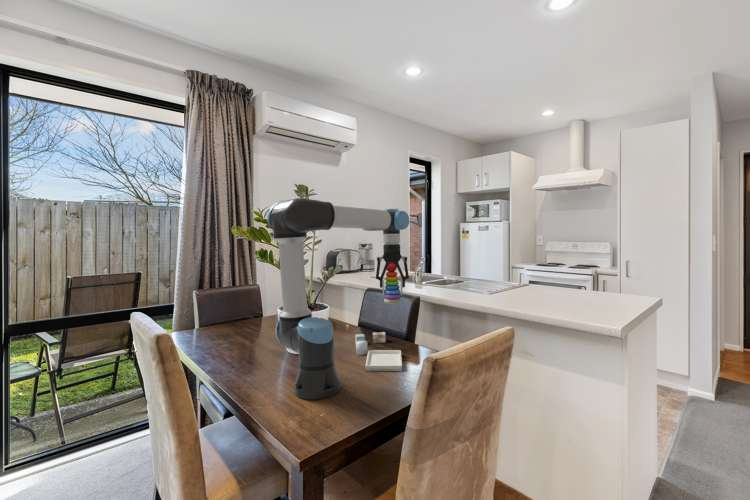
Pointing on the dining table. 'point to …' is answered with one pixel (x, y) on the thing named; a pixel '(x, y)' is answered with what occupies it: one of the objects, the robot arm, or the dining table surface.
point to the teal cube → (359, 337)
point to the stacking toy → (392, 285)
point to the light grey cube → (361, 347)
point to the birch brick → (379, 337)
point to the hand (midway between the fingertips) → (392, 294)
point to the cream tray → (383, 360)
